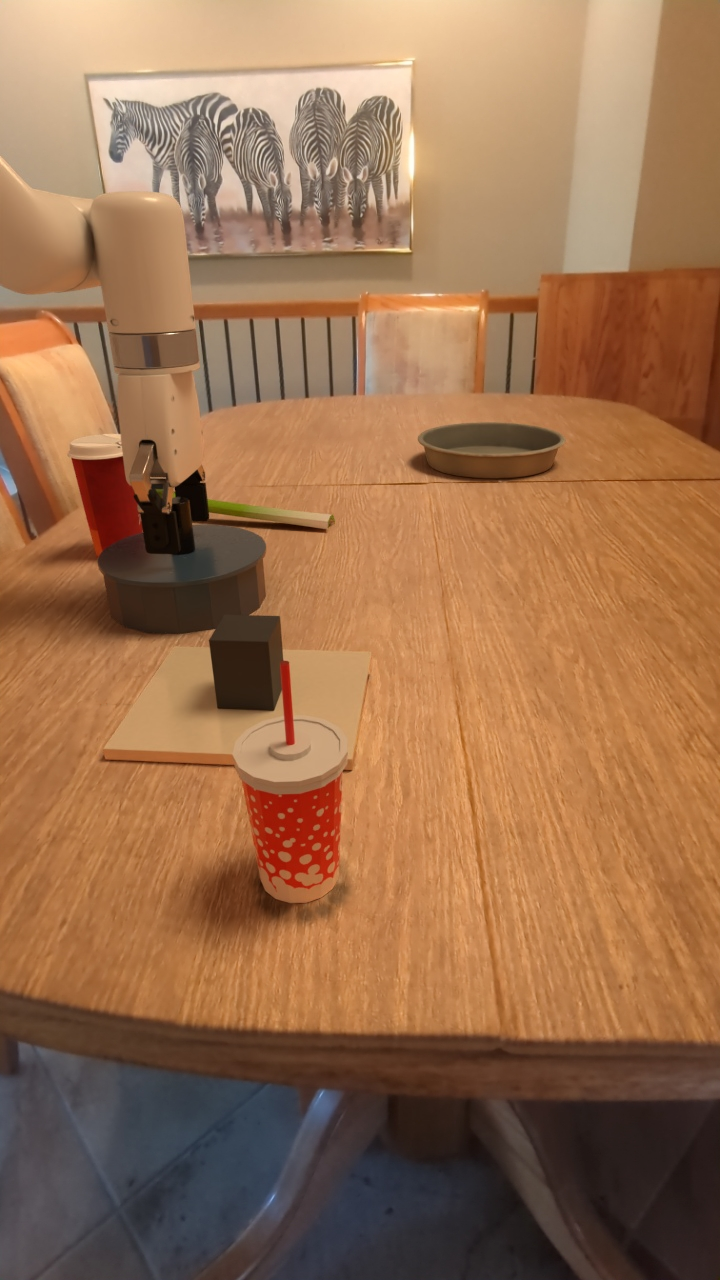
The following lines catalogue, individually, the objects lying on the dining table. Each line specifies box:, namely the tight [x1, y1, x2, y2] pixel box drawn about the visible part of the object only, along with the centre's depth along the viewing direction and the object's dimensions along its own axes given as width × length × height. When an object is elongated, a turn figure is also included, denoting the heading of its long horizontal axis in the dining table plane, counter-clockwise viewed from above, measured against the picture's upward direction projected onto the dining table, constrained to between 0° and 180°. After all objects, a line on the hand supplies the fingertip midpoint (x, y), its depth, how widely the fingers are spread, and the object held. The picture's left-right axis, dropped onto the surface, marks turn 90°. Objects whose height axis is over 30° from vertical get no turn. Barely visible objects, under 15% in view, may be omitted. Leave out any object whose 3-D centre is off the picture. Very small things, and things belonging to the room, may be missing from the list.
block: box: [208, 614, 284, 711], centre depth 59 cm, size 4×4×6 cm
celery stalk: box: [155, 488, 336, 530], centre depth 101 cm, size 6×7×30 cm
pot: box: [102, 558, 267, 635], centre depth 77 cm, size 16×16×6 cm
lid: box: [96, 497, 267, 587], centre depth 75 cm, size 17×17×6 cm
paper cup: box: [66, 433, 143, 558], centre depth 89 cm, size 8×8×14 cm
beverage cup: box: [232, 661, 348, 904], centre depth 41 cm, size 6×6×14 cm
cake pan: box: [417, 421, 566, 480], centre depth 128 cm, size 25×25×4 cm
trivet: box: [102, 645, 373, 771], centre depth 60 cm, size 18×16×1 cm
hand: (179, 535), depth 75 cm, fingers open, 9 cm apart
